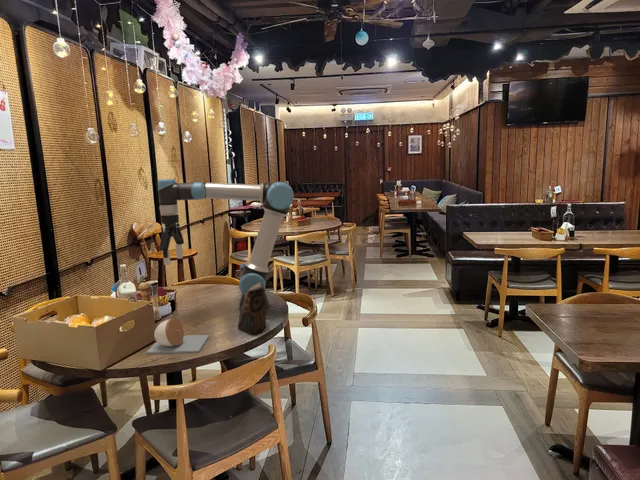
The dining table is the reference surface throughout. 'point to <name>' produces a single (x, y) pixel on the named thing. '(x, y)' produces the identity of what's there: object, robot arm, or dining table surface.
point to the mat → (181, 345)
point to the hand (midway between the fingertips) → (173, 261)
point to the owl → (253, 311)
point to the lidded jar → (169, 333)
